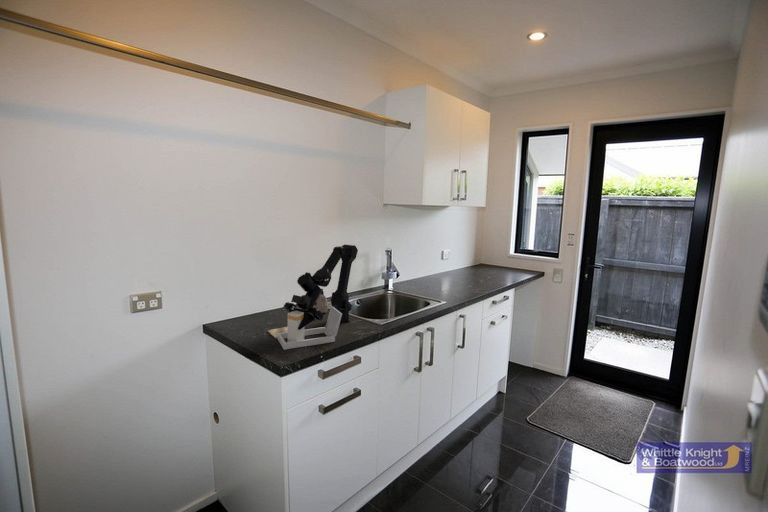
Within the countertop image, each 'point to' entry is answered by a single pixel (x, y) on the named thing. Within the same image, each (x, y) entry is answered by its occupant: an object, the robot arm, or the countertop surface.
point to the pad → (278, 331)
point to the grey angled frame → (315, 332)
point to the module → (295, 326)
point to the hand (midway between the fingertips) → (293, 328)
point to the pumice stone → (322, 304)
